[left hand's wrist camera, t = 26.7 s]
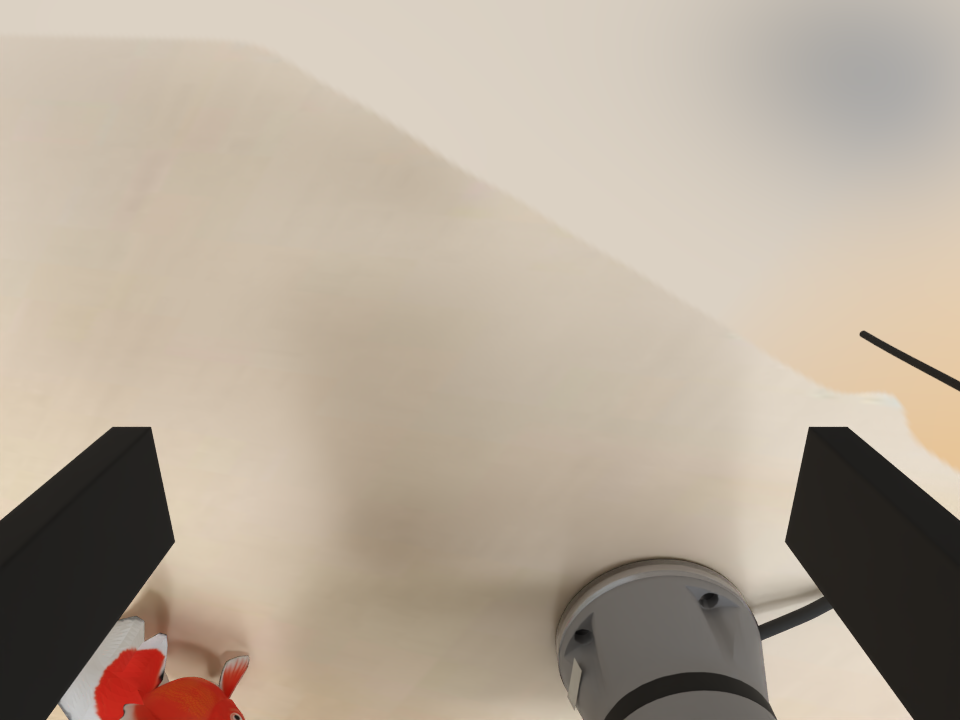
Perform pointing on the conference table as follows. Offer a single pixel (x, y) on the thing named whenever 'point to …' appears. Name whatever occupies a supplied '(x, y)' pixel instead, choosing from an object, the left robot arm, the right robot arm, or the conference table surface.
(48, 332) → the conference table surface
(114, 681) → the fish
